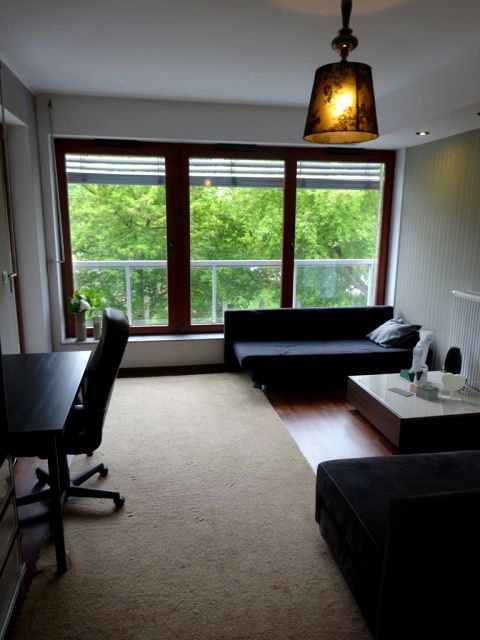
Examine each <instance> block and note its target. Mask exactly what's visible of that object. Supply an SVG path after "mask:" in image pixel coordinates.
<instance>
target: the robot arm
mask: <svg viewBox="0 0 480 640" xmlns="http://www.w3.org/2000/svg"><path fill="white" fill-rule="evenodd" d="M418 335H419V341H418V342H417V343H416V345H415V347H413V349H412V350H413V351H412V357H413V358H412V366H411V367H410V369H408V370H409V372H408V375H409V378H410V380H409V382H410V383H413V384H415V385H418V386H419V385H423V384H428V382H427V381H428V374H429V373H428V372H429V367H428V365H427V364H426V361H427V356H428V353H429V348H430V344H432V343H434V338H435V331H431V330H425V329H421V330H420V332H419V334H418ZM426 376H427V377H426ZM414 377H415V378H414ZM413 381H414V382H413Z"/></svg>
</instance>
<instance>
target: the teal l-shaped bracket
mask: <svg viewBox="0 0 480 640" xmlns="http://www.w3.org/2000/svg"><path fill="white" fill-rule="evenodd" d="M409 370H410V369H401V370H400V374H399V376H400V377H402V378H403V379H406V380H408V381H410V378H409V375H408V372H409ZM426 377H427V378H428V375H427V376H426ZM414 378H415V377H414ZM412 383H414V381H413V382H412Z"/></svg>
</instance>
